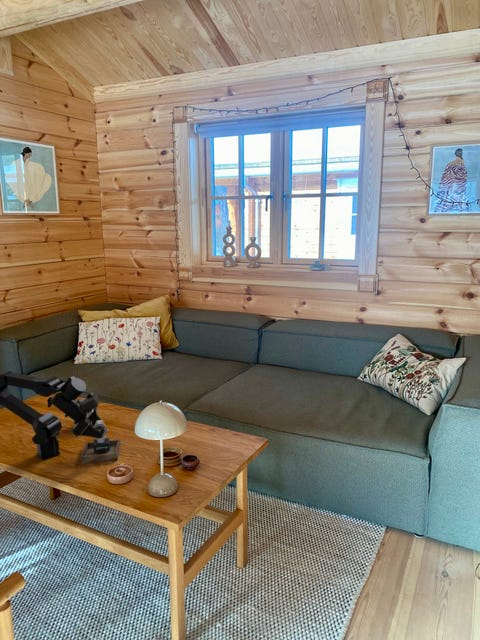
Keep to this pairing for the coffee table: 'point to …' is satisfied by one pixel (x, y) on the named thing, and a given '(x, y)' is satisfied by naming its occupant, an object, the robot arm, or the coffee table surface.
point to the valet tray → (100, 453)
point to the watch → (102, 443)
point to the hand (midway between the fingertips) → (103, 432)
